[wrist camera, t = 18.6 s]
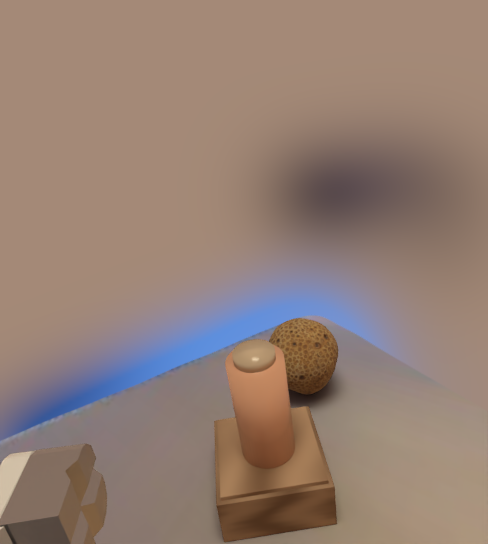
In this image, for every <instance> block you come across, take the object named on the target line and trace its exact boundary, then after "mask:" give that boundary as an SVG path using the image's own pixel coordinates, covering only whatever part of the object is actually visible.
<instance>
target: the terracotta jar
mask: <svg viewBox="0 0 488 544" xmlns="http://www.w3.org/2000/svg"><path fill="white" fill-rule="evenodd" d="M225 365H226V371H227V376H228V381H229V386H230V391H231V396H232V401H233V406H234V412H235V417H236V422H237V427H238V432H239V437H240V442H241V448H242V453H243V456H244V458H245V459H246V461H247V462H248V463H250V464H251V465H253V466H255V467H258V468H263V469H270V468H276V467H279V466H281V465H283V464H285V463H286V462H287V461H288V460H289V459H290V458H291V457H292V455H293V454H294V451H295V439H294V431H293V423H292V415H291V407H290V399H289V391H288V383H287V375H286V367H285V359H284V354H283V352H282V350H281V349H280V348H279V347H277V346H275V345H273V344H272V343H270V342H268V341H266V340H261V339H254V340H248V341H245V342H242V343H241V344H239V345H237V346H236V347H235V348H234V350H233V351H232V352H231V353H230V354H229V355H228V357H227V359H226V362H225Z"/></svg>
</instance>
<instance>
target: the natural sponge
mask: <svg viewBox="0 0 488 544" xmlns="http://www.w3.org/2000/svg"><path fill="white" fill-rule="evenodd" d="M269 342H270V343H272V344H273V345H275V346H277V347H279V348H280V349H281V350H282V352H283V354H284V359H285V367H286V375H287V383H288V389H290V390H293V391H296V392H298V393H301V394H313V393H315V392H317V391H319V390H321V389H322V388H323V387H324V386H325V385H326V384H327V383H328V381H329V380H330V378H331V376H332V374H333V372H334V369H335V366H336V362H337V358H338V346H337V343H336V340H335V338H334V336H333V335H332V334H331V332H330V331H329V330H328V329H327V328H326V327H325V326H323V325H322V324H320V323H318V322H316V321H312V320H308V319H301V318H298V319H291V320H289V321H286V322H284V323H283V324H281V325H280V326H278V327H277V328H276V329H275V331H274V332H273V334H272V336H271V338H270V340H269Z"/></svg>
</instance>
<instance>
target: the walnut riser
mask: <svg viewBox="0 0 488 544" xmlns="http://www.w3.org/2000/svg"><path fill="white" fill-rule="evenodd" d="M291 415H292V423H293V431H294V439H295V451H294V454H293V455H292V457H291V458H290V459H289V460H288V461H287V462H286V463H285V464H283V465H281V466H279V467H276V468H270V469H263V468H258V467H255V466H253V465H251V464H250V463H248V462H247V461H246V459H245V458H244V456H243V453H242V448H241V442H240V437H239V432H238V427H237V422H236V417H235V418H228V419H222V420H218V421H214V427H215V466H216V504H217V510H218V515H219V520H220V524H221V529H222V533H223V538H224V542H228V541H235V540H241V539H247V538H253V537H259V536H265V535H271V534H278V533H284V532H290V531H296V530H302V529H308V528H314V527H321V526H327V525H333V524H337V521H336V504H335V487H334V484H333V481H332V477H331V474H330V471H329V468H328V465H327V462H326V459H325V456H324V452H323V449H322V446H321V443H320V440H319V437H318V434H317V431H316V428H315V424H314V421H313V418H312V415H311V412H310V409H309V406H307V407H299V408H293V409H291Z"/></svg>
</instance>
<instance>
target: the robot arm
mask: <svg viewBox="0 0 488 544" xmlns="http://www.w3.org/2000/svg"><path fill="white" fill-rule="evenodd" d="M95 460H96V456H95V454H94V451H93V449H92V446H91V445H89V444H79V445H72V446H64V447H56V448H49V449H41V450H36V451H31V452H23V453H15V454H10V455H9V456H8V457H6V458H5V459H4V460H3V461H2V463H1V465H0V544H96V543H95V540H94V536H95V535H96V534H97V533H98V532H99V531H100V529H101V528H102V527H103V525H104V520H105V516H106V508H107V492H106V486H105V482H104V479H103V476H102V474H101V473H99V472H98V471H96V470H95V469H93V467H94V463H95Z"/></svg>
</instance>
